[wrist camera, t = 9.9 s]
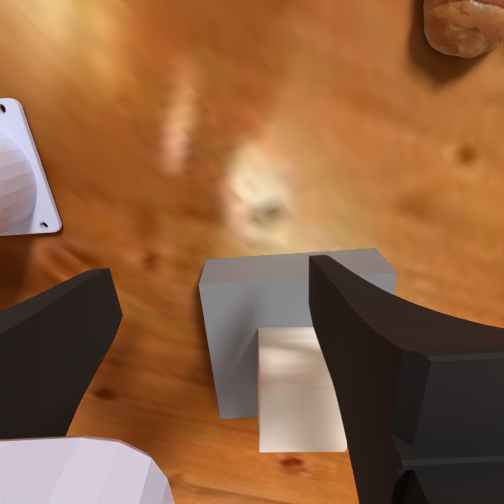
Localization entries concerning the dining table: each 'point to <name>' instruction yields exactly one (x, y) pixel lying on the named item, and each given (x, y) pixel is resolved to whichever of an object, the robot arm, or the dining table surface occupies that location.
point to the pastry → (464, 26)
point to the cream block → (296, 394)
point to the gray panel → (263, 312)
